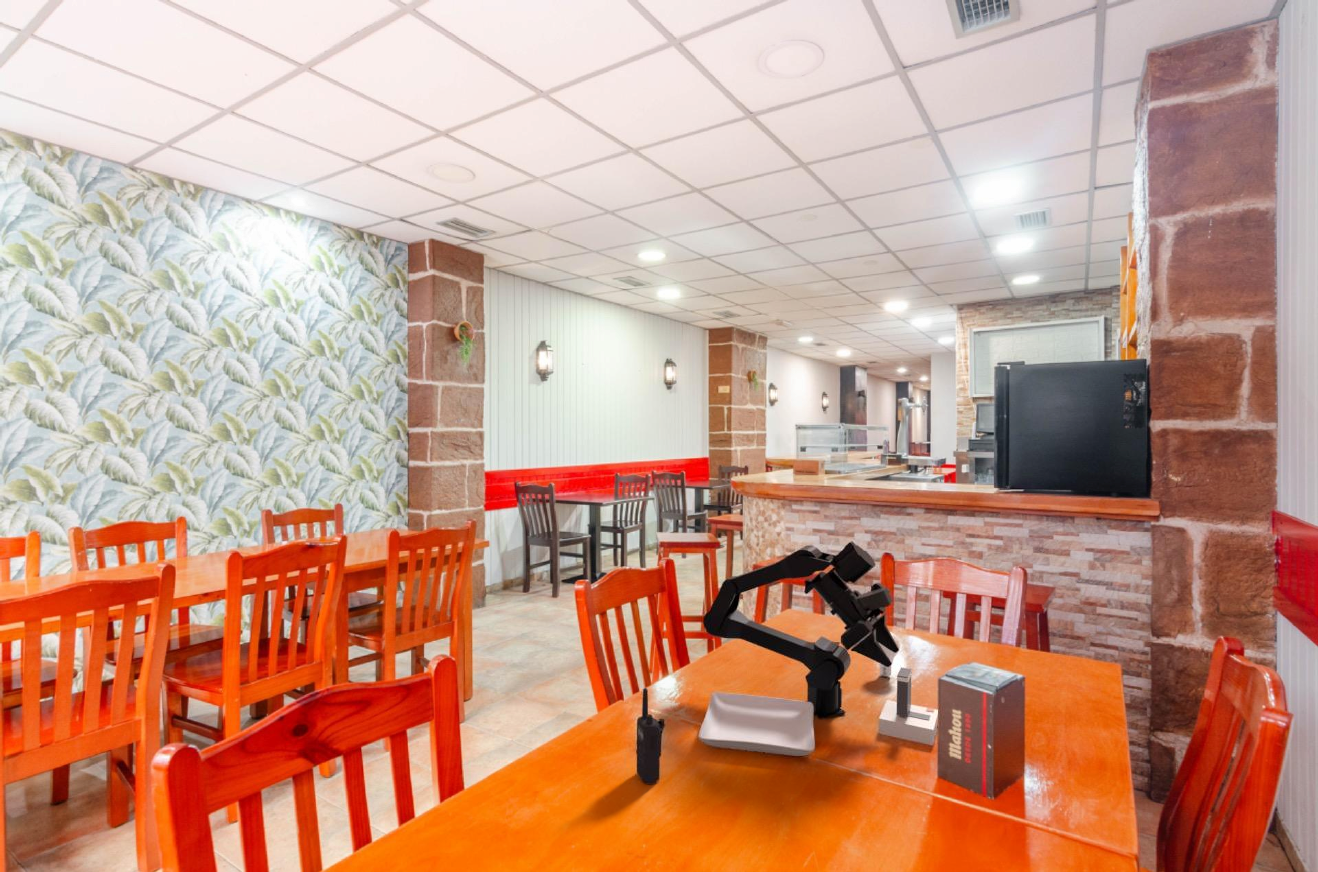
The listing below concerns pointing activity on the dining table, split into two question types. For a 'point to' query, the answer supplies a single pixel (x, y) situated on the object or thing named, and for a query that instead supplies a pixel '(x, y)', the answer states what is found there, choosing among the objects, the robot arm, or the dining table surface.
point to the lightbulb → (883, 669)
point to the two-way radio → (648, 744)
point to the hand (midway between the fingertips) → (893, 658)
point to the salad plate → (759, 724)
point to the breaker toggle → (904, 691)
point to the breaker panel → (909, 723)
